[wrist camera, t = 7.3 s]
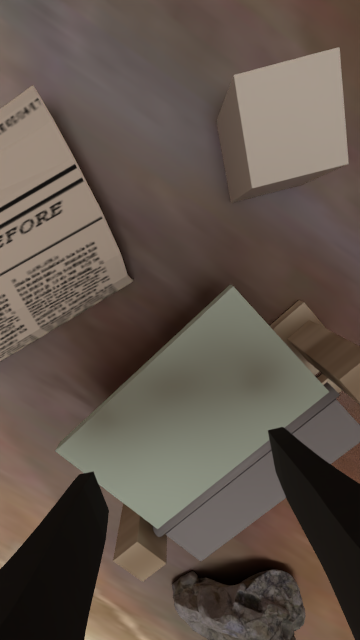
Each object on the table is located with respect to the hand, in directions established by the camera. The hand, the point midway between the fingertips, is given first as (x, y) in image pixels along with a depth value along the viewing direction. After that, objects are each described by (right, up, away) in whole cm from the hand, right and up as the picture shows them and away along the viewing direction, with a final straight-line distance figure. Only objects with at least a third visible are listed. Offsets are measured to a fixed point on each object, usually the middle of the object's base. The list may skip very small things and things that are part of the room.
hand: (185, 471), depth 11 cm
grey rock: (+5, -20, +17) cm, 26 cm away
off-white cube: (+5, +17, +7) cm, 19 cm away
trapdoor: (+2, 0, +8) cm, 9 cm away
